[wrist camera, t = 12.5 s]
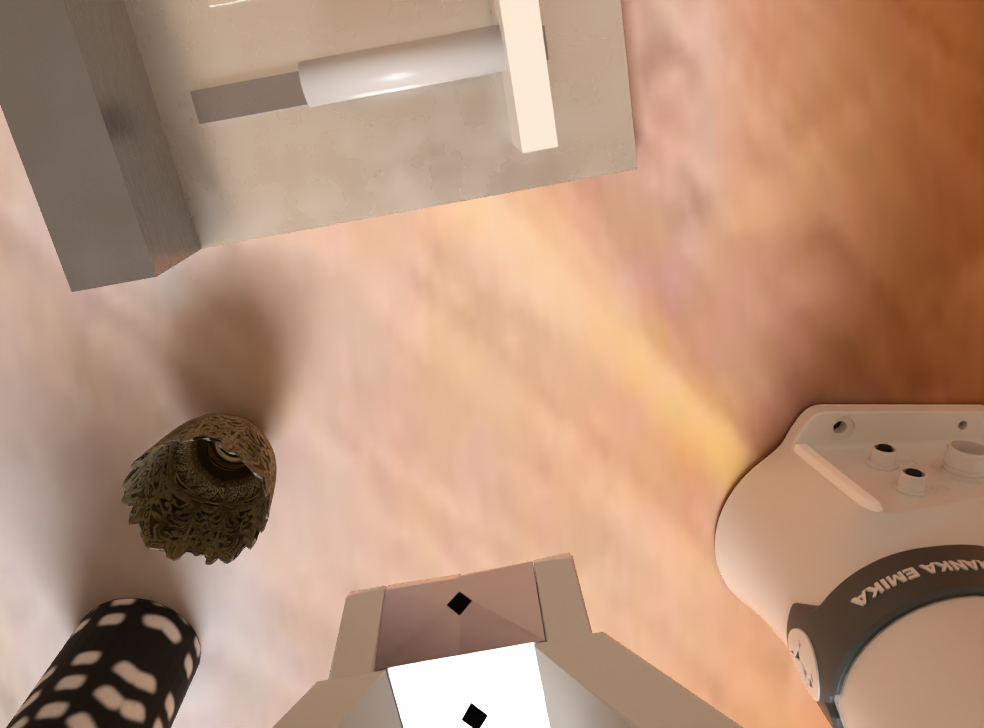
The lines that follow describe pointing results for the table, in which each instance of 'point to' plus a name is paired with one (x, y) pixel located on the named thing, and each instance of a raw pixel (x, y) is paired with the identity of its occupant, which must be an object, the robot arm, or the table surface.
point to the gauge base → (276, 120)
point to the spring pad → (453, 69)
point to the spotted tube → (117, 671)
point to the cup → (203, 488)
